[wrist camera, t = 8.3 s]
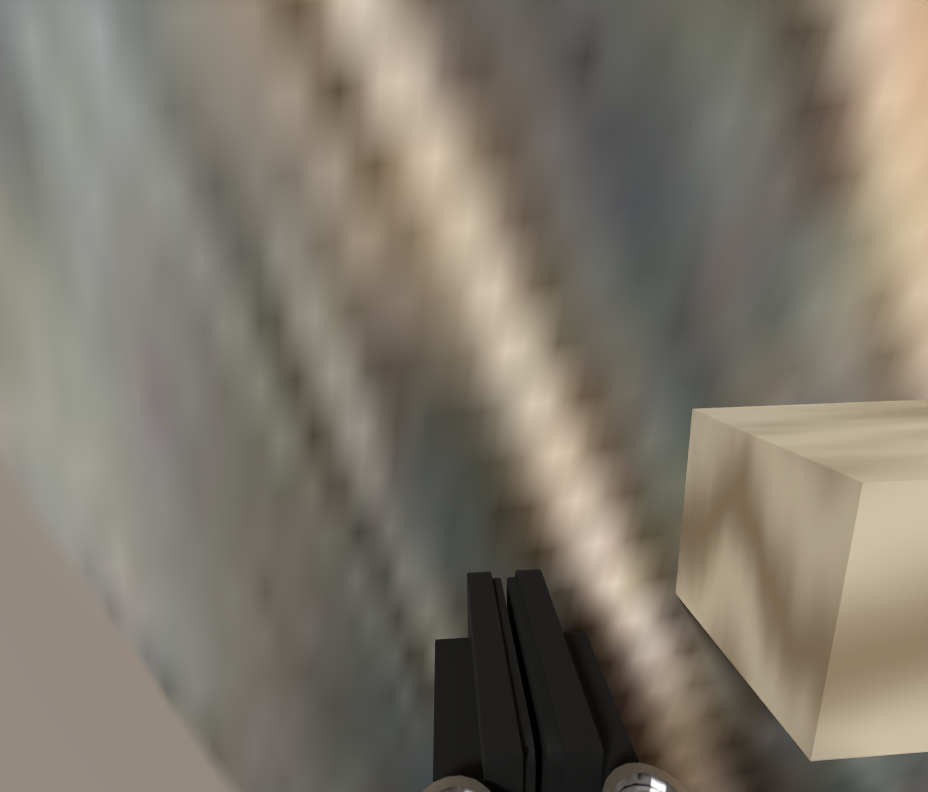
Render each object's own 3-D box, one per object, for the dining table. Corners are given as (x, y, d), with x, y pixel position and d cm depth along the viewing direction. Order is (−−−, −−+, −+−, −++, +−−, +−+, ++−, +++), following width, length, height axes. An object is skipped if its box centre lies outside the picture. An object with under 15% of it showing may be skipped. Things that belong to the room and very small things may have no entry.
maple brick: (690, 407, 17) (862, 482, 10) (983, 396, 17) (1336, 459, 11) (673, 590, 19) (810, 760, 12) (940, 574, 19) (1219, 728, 12)
